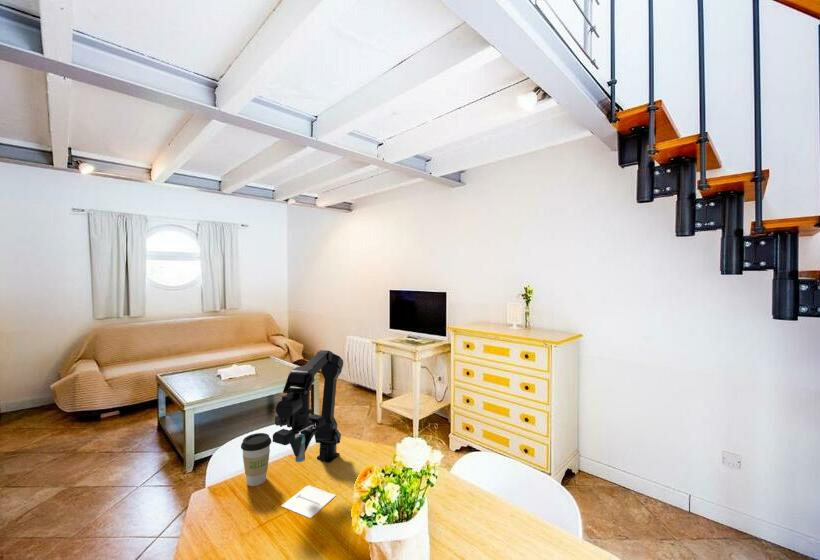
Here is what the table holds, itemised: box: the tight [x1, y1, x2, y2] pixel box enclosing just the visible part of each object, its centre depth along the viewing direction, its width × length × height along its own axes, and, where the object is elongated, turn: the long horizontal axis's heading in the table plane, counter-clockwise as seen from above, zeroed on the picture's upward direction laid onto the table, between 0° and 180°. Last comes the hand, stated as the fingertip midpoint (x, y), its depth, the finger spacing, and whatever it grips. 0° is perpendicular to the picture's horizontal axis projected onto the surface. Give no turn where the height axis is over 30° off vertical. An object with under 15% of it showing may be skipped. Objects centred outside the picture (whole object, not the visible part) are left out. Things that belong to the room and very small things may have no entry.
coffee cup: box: [240, 432, 272, 487], centre depth 125 cm, size 10×10×15 cm
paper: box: [280, 485, 337, 519], centre depth 114 cm, size 12×12×1 cm
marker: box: [294, 433, 306, 463], centre depth 119 cm, size 3×3×8 cm
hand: (300, 454), depth 119 cm, fingers closed on marker, 3 cm apart
